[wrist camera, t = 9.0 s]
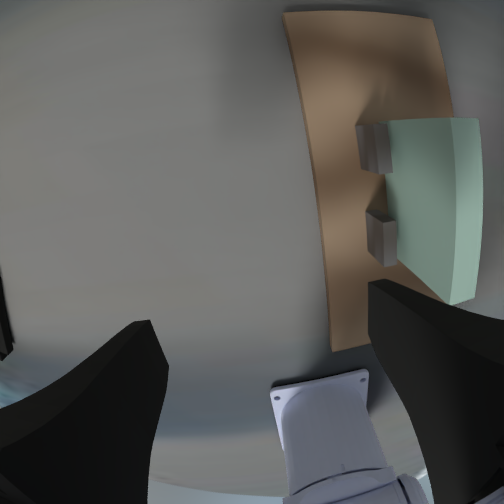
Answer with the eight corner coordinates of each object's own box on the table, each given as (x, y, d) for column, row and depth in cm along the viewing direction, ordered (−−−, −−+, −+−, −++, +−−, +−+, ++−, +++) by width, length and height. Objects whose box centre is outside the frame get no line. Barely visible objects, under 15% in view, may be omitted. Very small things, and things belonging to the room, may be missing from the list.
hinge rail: (444, 314, 21) (466, 337, 18) (330, 345, 21) (341, 376, 18) (426, 22, 13) (453, 8, 10) (281, 17, 14) (289, -7, 11)
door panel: (410, 247, 18) (474, 297, 12) (389, 252, 18) (449, 306, 12) (401, 120, 15) (478, 118, 9) (378, 121, 15) (450, 117, 9)
